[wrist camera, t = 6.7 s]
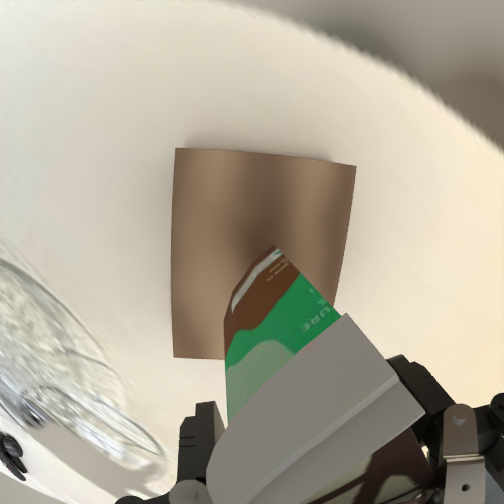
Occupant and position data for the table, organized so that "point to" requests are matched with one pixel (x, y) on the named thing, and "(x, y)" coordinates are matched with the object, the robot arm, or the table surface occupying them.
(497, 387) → the table surface
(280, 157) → the brown wooden block
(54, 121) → the table surface
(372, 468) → the half-round tin
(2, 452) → the can opener
